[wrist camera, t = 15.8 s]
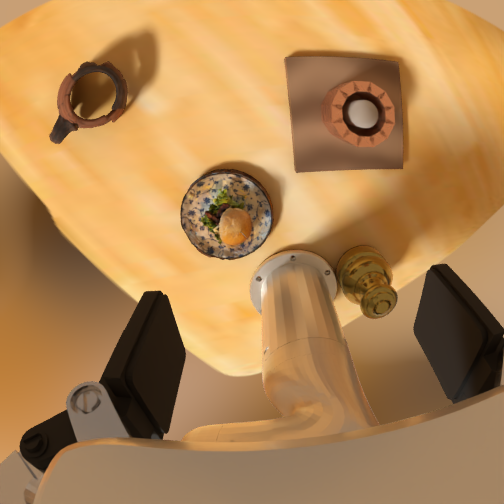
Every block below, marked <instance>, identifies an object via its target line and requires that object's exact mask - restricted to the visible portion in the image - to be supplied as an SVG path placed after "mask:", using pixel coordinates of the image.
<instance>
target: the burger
mask: <svg viewBox="0 0 504 504" xmlns="http://www.w3.org/2000/svg"><path fill="white" fill-rule="evenodd" d="M225 170H226V171H225ZM272 223H273V207H272V203H271V200H270V197H269V195H268V193H267V191H266V189H265V188H264V187H263V186H262V185H261V183H260V182H258V181H257V180H256V179H255V178H253V177H252V176H250V175H248V174H246V173H244V172H241V171H238V170H233V169H230V170H228V169H221V170H214V171H211V172H209V173H208V174H206V175H204V176H202V177H201V178H199V179H197V180H196V181H195V182H194V183H193V184H191V186H190V188H189V190H188V191H187V193H186V194H185V196H184V198H183V201H182V205H181V225H182V228H183V229H184V231H185V233H186V235H187V236H188V238H189V240H190V242H191V243H192V244H193V245H194V246H195V247H196V248H197V250H198V251H199V252H201V253H202V254H204V255H206V256H208V257H216V258H220V259H222V260H224V259H228V260H233V259H238V258H241V257H244V256H247V255H248V254H250V253H253V252H254V251H255V250H257V249H258V248H259V247H261V246H262V244H263V243H264V242H265V240H266V239H267V237H268V235H269V233H270V231H271V227H272Z"/></svg>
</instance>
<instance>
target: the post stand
mask: <svg viewBox="0 0 504 504" xmlns="http://www.w3.org/2000/svg"><path fill="white" fill-rule="evenodd" d="M284 60H285V69H286V78H287V87H288V96H289V106H290V117H291V128H292V140H293V152H294V166H295V171H296V173H300V172H316V171H335V170H362V169H403V119H402V99H401V85H400V74H399V65H398V62H395V61H386V60H377V59H365V58H350V57H285V59H284ZM351 81H365V82H372V83H373V84H375V85H376V86H378V87H379V88H381V89H383V90H384V91H385V92H386V93H387V95H388V97H389V98H390V100H391V102H392V104H393V105H394V112H395V125H394V127H393V129H392V131H391V133H390V135H389V137H388V139H386V140H384V141H383V142H381V143H380V144H378V145H376V146H375V147H356V146H354V145H351V144H349V143H346V142H344V141H342V140H340V139H338V138H337V137H335V136H333V135H331V134H330V132H329V131H328V129H327V128H326V126H325V125H324V123H323V122H322V115H321V104H322V102H323V100H324V98H325V96H326V94H327V92H328V91H330V90H332V89H333V88H335V87H337V86H339V85H340V84H344V83H347V82H351ZM342 115H343V121H344V123H345V124H346V126H347V127H348V129H349V131H351V132H353V133H356V132H358V131H360V130H361V129H363V128H370V127H372V126H374V125H375V123H376V122H377V120H378V111H377V108H376V107H375V105H374V104H373V103H371V102H370V101H367V100H363V99H362V98H360V97H359V96H357V95H355V94H352V95H350V96H348V97H347V99H346V101H345V103H344V105H343V107H342Z"/></svg>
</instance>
